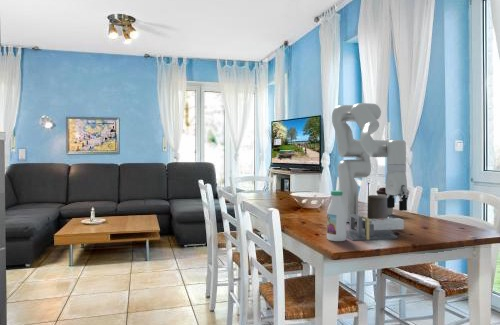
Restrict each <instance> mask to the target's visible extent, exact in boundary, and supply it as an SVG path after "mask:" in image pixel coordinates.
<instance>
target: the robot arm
mask: <svg viewBox="0 0 500 325" xmlns="http://www.w3.org/2000/svg"><path fill="white" fill-rule="evenodd" d="M331 114H332V115H331V122H332V123H331V124H332V125H333V128H334V131H335V132H334V133H335V138H336V146H337V152H338V155H339V156H340V157H341V158H356V159H343V160H341V161H339V162H338V164H337V166H336V169H337V174H338V175H337V176H338V185H339V186H338V189H339V190H338V191H342V192H343V195H342V201H343V204H344V206H345V209H346V223H350V213H354V214H356V215H359V186H358V182H357V180H356V179H359V178H362V179H363V178H368V177H369V176H370V175H371V173H372V164H371V158H386V176H385V187H384V188H385V191H386V195H387V207H388V208H393V209H394V208H395V197H398V199H399V201H398V211H400V212H402V211H407V210H408V201H409V195H410V190H409V189H408V180H407V174H406V173H407V142H406V141H405V140H403V139H391V140H389V139H388V140H385V139H381V140H380V139H378V140H377V139H373V137H372V136H371V135H372V134H374V133H375V132H377V131H378V129H379V127H380V122H379V119H380V117H381V114H382V110H381V107H380V105H378V104H376V103H372V102H371V103H367V102H359V103H355V104H353V105H352V104H342V105H341V104H340V105H337V106H335V107H334V109H333V110H332V113H331ZM347 122H349V123H350V122H355V123H356V124H357V125H358V127H359V129H360V130H361V132H360V135H359V139H356V138H354V135H353V130H352V128H351V126H350V125H349V123H347ZM355 223H357V219H355Z"/></svg>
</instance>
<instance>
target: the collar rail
mask: <svg viewBox="0 0 500 325" xmlns="http://www.w3.org/2000/svg"><path fill="white" fill-rule="evenodd" d="M355 219H357V222H355ZM355 223H356V224H355ZM355 225H356V228H355ZM346 239H349V240H351V241H373V240H375V241H376V240H377V241H378V240H398V239H399V237H398V235H395V234H393V233H391V230H374V224H369V218H367V216H364V215H362V216H361V215H359V214H358V215H356V214H354V213H350V222H349V230H348V231H347V230H346Z"/></svg>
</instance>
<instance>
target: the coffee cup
mask: <svg viewBox="0 0 500 325" xmlns="http://www.w3.org/2000/svg"><path fill="white" fill-rule="evenodd" d="M385 188H386V187H379V189H378V190H376V195H377V194H378V195H381V196H387V195H386V191H385ZM393 209H394V207H393V208H388V216H392V215H393V212H394V210H393Z"/></svg>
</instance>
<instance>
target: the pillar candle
mask: <svg viewBox="0 0 500 325" xmlns="http://www.w3.org/2000/svg"><path fill="white" fill-rule="evenodd" d="M366 217H367V218H369V219H384V218H389V215H388V207H387V196H381V195H378V194H377V193H376V194H375V195H374V194H370V195H367V216H366Z"/></svg>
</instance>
